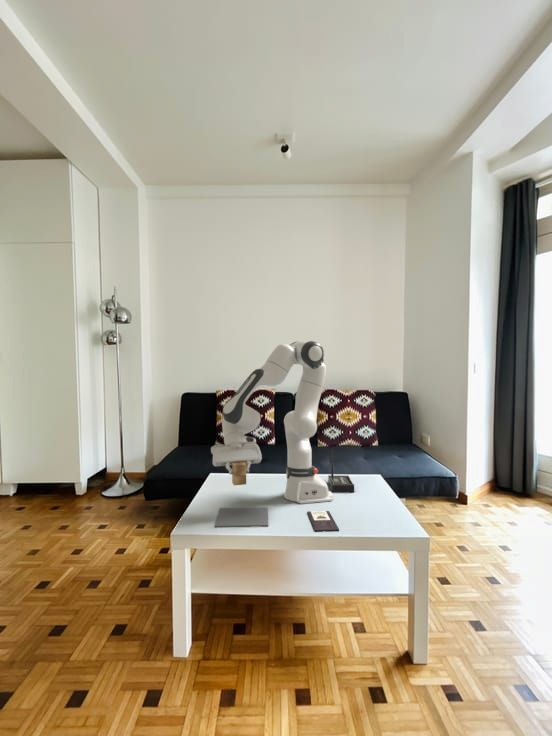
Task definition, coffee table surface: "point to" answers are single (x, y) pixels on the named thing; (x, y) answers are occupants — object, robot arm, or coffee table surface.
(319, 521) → the chocolate bar
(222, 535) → the coffee table surface
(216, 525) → the charcoal mat
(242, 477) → the oak block
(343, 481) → the wireless controller
